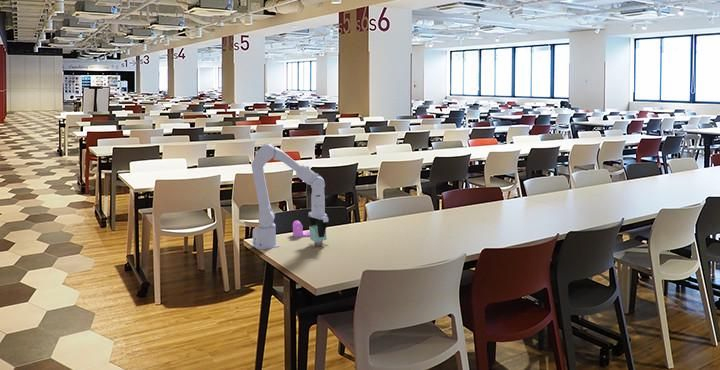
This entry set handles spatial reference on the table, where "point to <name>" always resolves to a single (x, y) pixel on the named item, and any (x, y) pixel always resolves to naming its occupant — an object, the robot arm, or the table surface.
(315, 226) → the teal cube
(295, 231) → the bracket
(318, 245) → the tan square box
